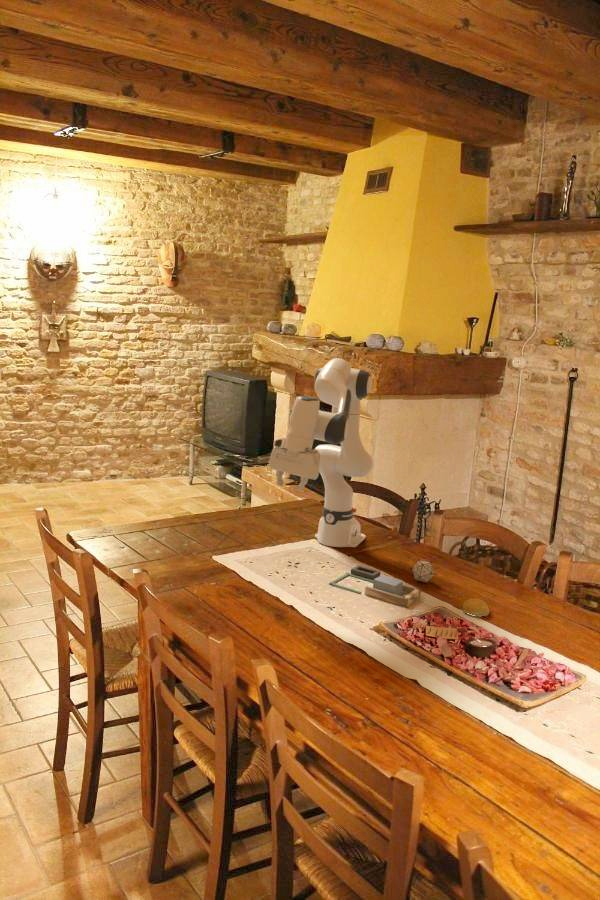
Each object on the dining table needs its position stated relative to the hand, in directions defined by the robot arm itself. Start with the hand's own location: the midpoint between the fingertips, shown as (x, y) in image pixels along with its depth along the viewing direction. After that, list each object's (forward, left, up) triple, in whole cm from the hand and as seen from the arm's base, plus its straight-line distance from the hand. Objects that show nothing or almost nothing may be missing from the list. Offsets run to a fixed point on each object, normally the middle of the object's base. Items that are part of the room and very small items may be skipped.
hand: (289, 488), depth 234 cm
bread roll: (-30, +55, -36) cm, 72 cm away
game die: (-42, +31, -36) cm, 63 cm away
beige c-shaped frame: (-24, +29, -35) cm, 51 cm away
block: (-24, +27, -36) cm, 50 cm away
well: (-33, +13, -35) cm, 50 cm away
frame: (-24, +14, -35) cm, 45 cm away
